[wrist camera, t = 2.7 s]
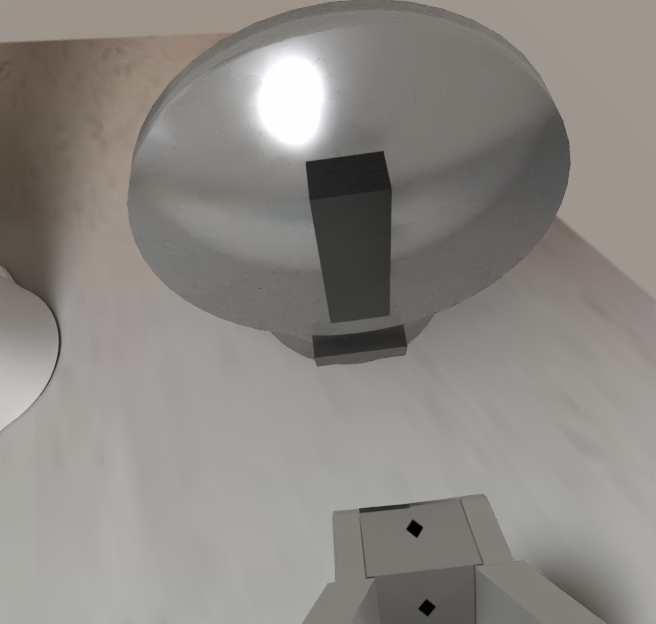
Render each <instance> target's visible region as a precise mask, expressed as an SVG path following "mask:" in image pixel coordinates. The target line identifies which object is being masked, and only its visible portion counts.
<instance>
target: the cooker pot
mask: <svg viewBox="0 0 656 624" xmlns="http://www.w3.org/2000/svg"><path fill="white" fill-rule="evenodd" d="M433 315H434V314H432V315H429V316H427V317H424V318H421V319H418V320H415V321H411V322H408V323H405V324H401V325H397V326H393V327H388V328H384V329H380V330H373V331H367V332H361V333H352V334H342V335H295V334H285V333H276V332H272V334H273V335H274V336H275V337H276V338H277V339H279V340H280V341H281V342H282V343H283V344H284V345H286V346H287V347H289V348H290V349H292V350H293V351H295V352H297V353H299V354H301V355H303V356H305V357H308V358H311V359H314V360H315V361H316V364H317V366H324V365H332V364H359V363H364V362H369V361H374V360H377V359H380V358H387V357H395V356H403V355H406V350H407V344H408V343H410V342H411V341H412V340H413V339H414V338H415V337H417V336H418V335H419V334H420V332H421V331H422V330H423V329H424V328H425V327H426V326H427V324H428V323H429V321H430V320H431V318H432V317H433Z"/></svg>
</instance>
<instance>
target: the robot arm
mask: <svg viewBox="0 0 656 624" xmlns="http://www.w3.org/2000/svg"><path fill="white" fill-rule="evenodd" d="M58 346H59V337H58V329H57V325H56V321H55V319H54V316H53V314H52V312H51V311H50V309H49V308H48V306H47V305H46V304H45V303H44V302H43V301H42V300H41V299H40V298H39V297H38V296H36V295H35V294H33V293H32V292H30V291H28V290H26V289H24V288H22V287H20V286H19V285H17V284H16V283H15V282H14V280H13V278H12V277H11V275H10V274H9V273H8V271H7V270H6V269H5V268H4V267H2V266H0V431H1V430H2V429H3V428H5V427H6V426H7V425H8V424H10V423H11V422H12V421H14V420H15V419H16V418H18V417H19V416H20V415H21V414H22V413H24V412H25V411H26V410H27V409H28V408H29V407H30V406H31V405H32V404H33V403H34V401H35V400H36V399H37V398H38V397H39V395H40V394H41V392H42V391H43V389H44V388H45V386H46V384H47V383H48V381H49V379H50V377H51V374H52V372H53V369H54V366H55V363H56V359H57V354H58ZM359 513H360V516H359ZM333 539H334V560H335V581H336V582H333V583H328V584H327V585H326V587H325V589H324V590H323V592H322V593H321V595H320V596H319V598H318V600H317V601H316V603H315V604H314V606H313V607H312V609H311V611H310V612H309V614H308V615H307V617H306V618H305V620H304V622H303V623H302V624H607V623H605V622H604V621H603V620H601V619H600V618H599V617H597V616H596V615H594V614H593V613H592V612H590V611H589V610H588V609H586V608H585V607H584V606H582V605H581V604H580V603H578V602H577V601H576V600H574V599H573V598H572V597H570V596H569V595H568V594H566V593H565V592H564V591H562V590H561V589H560V588H558V587H557V586H556V585H554V584H553V583H552V582H550V581H549V580H547V579H546V578H545V577H543V576H542V575H541V574H539V573H538V572H537V571H535V570H534V569H533V568H531V567H530V566H529V565H527V564H526V563H525V562H523V561H515V562H514V559H513V557H512V555H511V552H510V550H509V548H508V545H507V543H506V541H505V538H504V536H503V534H502V531H501V529H500V526H499V524H498V522H497V519H496V517H495V515H494V512H493V510H492V508H491V505H490V503H489V501H488V498H487V497H486V496H485V495H484V494H478V495H470V496H462V497H458V498H457V497H456V498H448V499H440V500H432V501H424V502H416V503H409V504H402V505H391V506H380V507H369V508H359V510H358V509H355V510H343V511H333Z"/></svg>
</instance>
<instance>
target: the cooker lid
mask: <svg viewBox="0 0 656 624" xmlns="http://www.w3.org/2000/svg"><path fill="white" fill-rule="evenodd" d="M569 170H570V151H569V141H568V137H567V133H566V130H565V126H564V122H563V120H562V118H561V116H560V114H559V112H558V110H557V107H556V105H555V104H554V101H553V99H552V97H551V95H550V93H549V92H548V90H547V88H546V86H545V84H544V82H543V80H542V78H541V77H540V75H539V73H538V72H537V71H536V69H535V68H534V67H533V66H532V65H531V63H530V62H529V61H528V60H527V58H526V57H525V56H524V55H523V54H522V53H521V52H520V51H519V50H518V49H516V48H515V47H514V46H513V45H511V44H510V43H509V42H508V41H507V40H506V39H504V38H503V37H502V36H501V35H499V34H497V33H495V32H494V31H492V30H490V29H488V28H486V27H485V26H483V25H481V24H480V23H478V22H475V21H474V20H472V19H469V18H466V17H464V16H461V15H458V14H455V13H453V12H450V11H447V10H445V9H442V8H437V7H432V6H427V5H422V4H417V3H412V2H407V1H392V0H351V1H338V2H328V3H323V4H318V5H314V6H309V7H305V8H299V9H295V10H290V11H287V12H285V13H282V14H279V15H276V16H273V17H271V18H268V19H265V20H262V21H259V22H257V23H254V24H252V25H250V26H248V27H246V28H244V29H242V30H240V31H238V32H236V33H234V34H233V35H231V36H229V37H227V38H225V39H223V40H221V41H220V42H218V43H217V44H215V45H214V46H213V47H211V48H210V49H208V50H207V51H206V52H204V53H203V54H201V55H200V56H199V57H197V58H196V59H194V60H193V61H192V62H191V63H190V64H189V65H188V66H187V67H186V68H185V69H184V70H183V71H181V72H180V73H179V74H178V75H177V76H176V77H175V78H174V79H173V80H172V81H171V82H170V83H169V85H168V86H167V87H166V89H165V90H164V91H163V93H162V94H161V95H160V97H159V98H158V99H157V101H156V102H155V103H154V105H153V106H152V108H151V110H150V112H149V114H148V116H147V117H146V119H145V121H144V123H143V125H142V127H141V129H140V132H139V135H138V139H137V142H136V146H135V149H134V152H133V158H132V166H131V173H130V181H129V191H128V201H127V204H128V214H129V223H130V227H131V230H132V233H133V236H134V240H135V243H136V245H137V246H138V248H139V250H140V252H141V254H142V256H143V258H144V260H145V261H146V262H147V264H148V265H149V266H150V268H151V269H152V270H153V272H154V273H155V274H156V275H157V276H158V277H159V278H160V279H161V280H162V281H163V282H164V283H165V284H166V285H167V286H168V287H169V288H170V289H171V290H173V291H174V292H175V293H177V294H178V295H179V296H181V297H182V298H183V299H185V300H186V301H188V302H190V303H191V304H193V305H195V306H197V307H198V308H200V309H202V310H204V311H206V312H208V313H210V314H213V315H215V316H217V317H219V318H222V319H225V320H228V321H230V322H233V323H236V324H239V325H243V326H247V327H251V328H255V329H259V330H265V331H271V332H276V333H285V334H295V335H342V334H352V333H361V332H367V331H373V330H380V329H384V328H388V327H393V326H397V325H401V324H405V323H408V322H411V321H415V320H418V319H421V318H424V317H427V316H429V315H432V314H435V313H438V312H440V311H442V310H445V309H447V308H449V307H451V306H453V305H456V304H458V303H460V302H462V301H464V300H465V299H467V298H469V297H471V296H473V295H475V294H477V293H478V292H480V291H481V290H483V289H485V288H486V287H488V286H489V285H491V284H492V283H494V282H495V281H497V280H498V279H499V278H501V277H502V276H503V275H504V274H506V273H507V272H508V271H510V270H511V269H512V268H513V267H514V266H515V265H516V264H517V263H519V262H520V261H521V260H522V259H523V258H524V257H525V256H526V255H527V254H528V253H529V252H530V251H531V249H532V248H533V247H534V246H535V245H536V244H537V243H538V241H539V240H540V239H541V238H542V236H543V235H544V233H545V232H546V230H547V229H548V227H549V226H550V224H551V223H552V221H553V219H554V217H555V215H556V213H557V211H558V209H559V207H560V205H561V203H562V200H563V197H564V194H565V190H566V187H567V184H568V177H569Z"/></svg>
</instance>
